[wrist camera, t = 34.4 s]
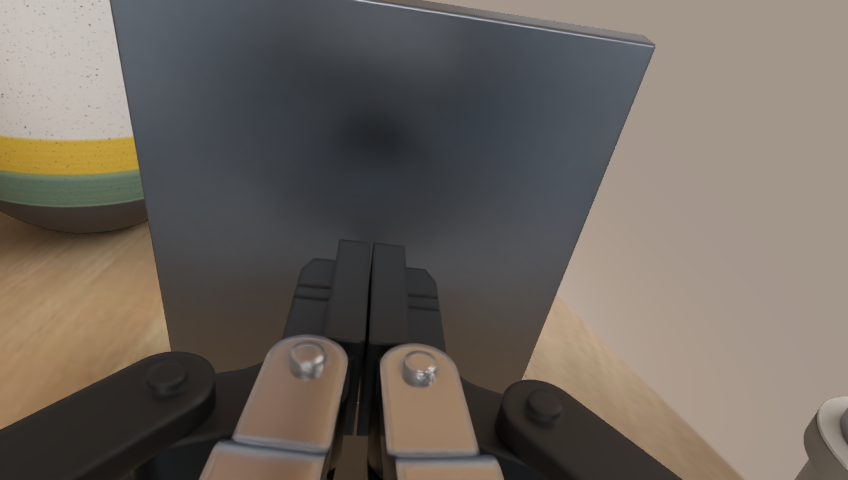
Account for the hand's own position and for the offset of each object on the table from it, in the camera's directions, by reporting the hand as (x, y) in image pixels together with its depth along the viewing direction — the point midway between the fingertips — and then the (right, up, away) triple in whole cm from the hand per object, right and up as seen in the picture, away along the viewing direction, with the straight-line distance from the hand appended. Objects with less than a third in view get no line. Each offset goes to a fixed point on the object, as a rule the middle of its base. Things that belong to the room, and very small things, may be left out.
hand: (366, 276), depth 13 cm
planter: (-27, +3, +35) cm, 45 cm away
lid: (0, +1, +5) cm, 5 cm away
